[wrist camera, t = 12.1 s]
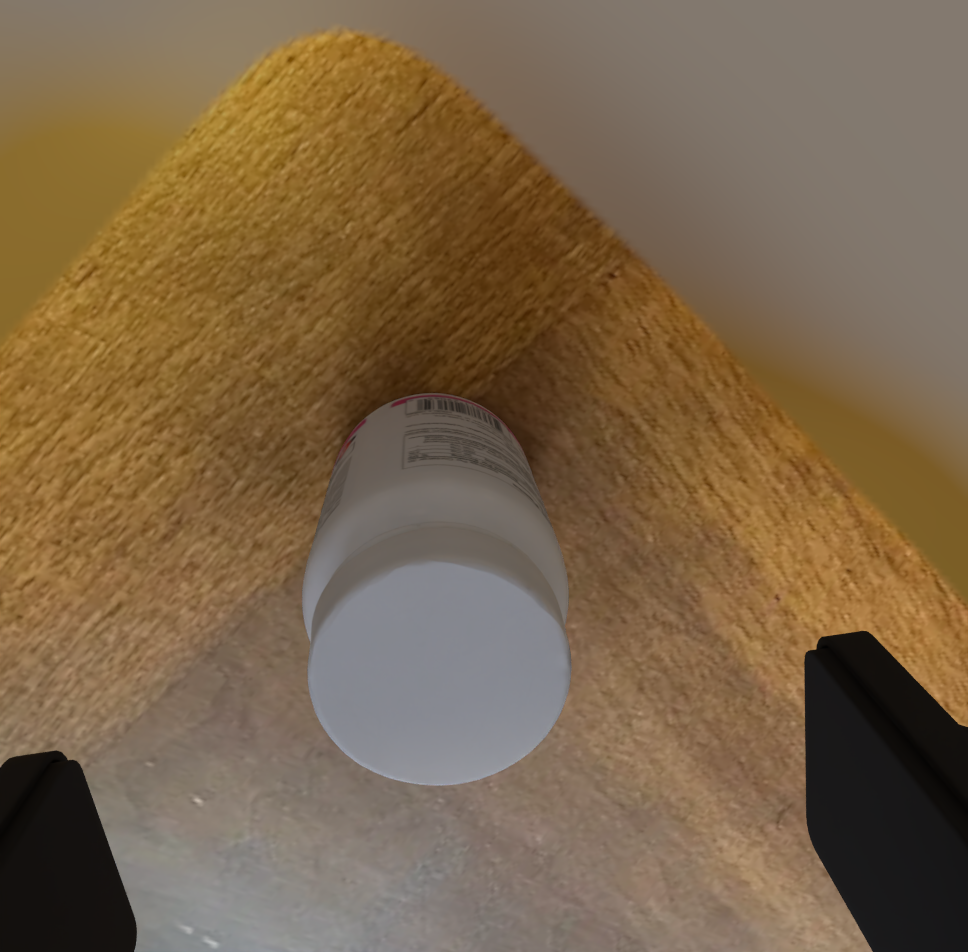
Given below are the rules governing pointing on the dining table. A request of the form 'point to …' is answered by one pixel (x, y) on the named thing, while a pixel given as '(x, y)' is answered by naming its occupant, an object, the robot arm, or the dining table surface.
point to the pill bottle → (435, 597)
